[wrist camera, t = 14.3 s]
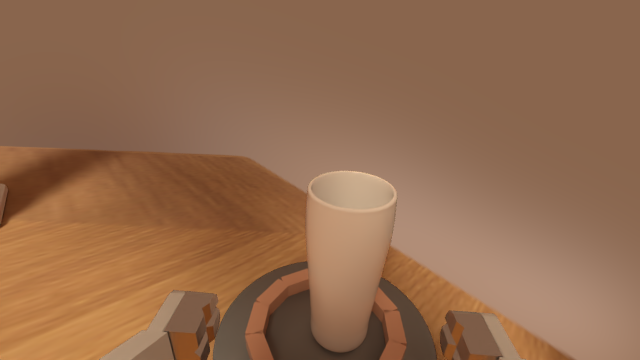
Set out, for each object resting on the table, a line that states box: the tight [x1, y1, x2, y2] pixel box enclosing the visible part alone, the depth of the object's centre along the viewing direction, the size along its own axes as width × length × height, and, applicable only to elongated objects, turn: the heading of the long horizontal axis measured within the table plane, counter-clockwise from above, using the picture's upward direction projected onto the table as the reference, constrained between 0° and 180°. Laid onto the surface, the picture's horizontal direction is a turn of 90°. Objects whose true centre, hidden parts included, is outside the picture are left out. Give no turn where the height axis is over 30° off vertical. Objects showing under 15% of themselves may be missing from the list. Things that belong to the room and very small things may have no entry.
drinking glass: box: [305, 171, 397, 353], centre depth 26 cm, size 7×7×15 cm
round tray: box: [213, 261, 437, 360], centre depth 28 cm, size 20×20×2 cm
